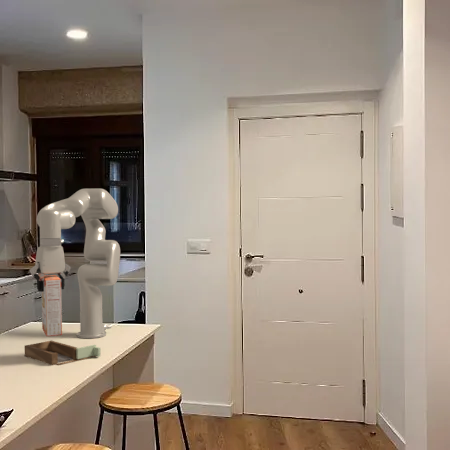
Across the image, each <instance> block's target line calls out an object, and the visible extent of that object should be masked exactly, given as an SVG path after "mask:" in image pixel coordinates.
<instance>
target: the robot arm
mask: <svg viewBox="0 0 450 450" xmlns="http://www.w3.org/2000/svg"><path fill="white" fill-rule="evenodd" d="M118 213H119V206H118V203H117V202H116V200H115V199H114V198H113V196H112V195H111V194H110V193H109V192H108V191H107V190H106V189H104V188H81V189H79V190H77V191H76V192H75V193H73V194H72V195H71V196H69V197H68V198H65V199H61V200H58V201H55V202H52V203H49V204H47V205H45V206H44V207H42V208H41V209H40V210H39V212H38V213H37V216H36V223H37V225H38V227H39V246H38V247H37V249H36V254H35V255H36V256H35V263H34V264H35V265H34V266H32V267H31V268H30V269H29V273H30V275H31V276H32V277H33V279H35V281H36V289H37V292H41V293H42V292H43V291H44V281H42V279H43V277H44V276H45V275H51V274H52V275H54V274H57V276H58V277H59V278H60V279H61V290H64V289H65V284H66V283H65V279H66V278H67V276H68V275H69V273H70V271H71V269H72V267H71V266H70V265H69V264H68V263H66V261H65V259H66V258H65V253H64V247H63V246H62V244H64V242H65V241H64V239H62V230H67V229H72V228H73V226H74V225H75V224H76V218H78V217H80V216H81V219H82V220H83V222H84V225H85V239H84V240H85V241H84V248H83V257H84V259H85V260H86V261H89V262H106V263H85V264H82V265H80V266H79V267H78V269H77V281H78V287H79V308H80V309H79V320H80V321H79V323H80V326H79V327H80V328H79V329H80V331H78V332H77V333H76V337H77V338H81V339H97V338H103V337H105V336H106V335H107V332H106V330H109V329H112V324H111V323H108V324H104V323H103V294H102V291H101V289H100V288H99V287H101V286H103V287H104V286H105V287H111V286H115V285H116V283H117V281H118V279H119V278H118V277H119V271H120V269H119V268H120V261H121V247H120V244H119V243H118V241H117V240H115V239H106V233H107V232H106V228H105V226H104V225H103V223H102V222H101V221H100V220H110V219H111V220H112V219H116V217H117V216H118ZM98 286H99V287H98Z"/></svg>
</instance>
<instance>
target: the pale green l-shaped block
mask: <svg viewBox="0 0 450 450" xmlns="http://www.w3.org/2000/svg"><path fill="white" fill-rule="evenodd" d="M90 356H97V358H100V357H101V347H99V346H97V344H90V345H86V346H81V347H77V348H76V359H81V358H85V357H90Z"/></svg>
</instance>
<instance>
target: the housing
mask: <svg viewBox="0 0 450 450" xmlns="http://www.w3.org/2000/svg"><path fill="white" fill-rule="evenodd" d="M76 348H78V346H77V347H76V346H73V345H69V344H66V343H62V342H59V341H55V340H48V341H46V340H45V341H43V342H36V343H31V344H25V345H24V357H27V358H29V359H33V360H34V361H38V362H42V363H45V364H47V365H50V366H54V365H57V366H61V365H65V364H70V363H74V362H79V361H84V360H87V359H92V358H96V357H97V356H90V357H85V358H81V359H76ZM97 358H98V357H97Z"/></svg>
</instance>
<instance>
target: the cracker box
mask: <svg viewBox="0 0 450 450" xmlns="http://www.w3.org/2000/svg"><path fill="white" fill-rule="evenodd" d="M42 281H44V291H43V292H41V322H42V323H41V325H42V328H41V329H42V331H43V333H44V335H45V336H46V337H55V336H56V337H57V336H63V320H62V319H63V315H62V311H63V309H62V307H63V306H62V305H63V303H62V289H61V279H60V278H59V276H58V275H56V274H52V275H51V274H45V276H44V277H43V279H42Z"/></svg>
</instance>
